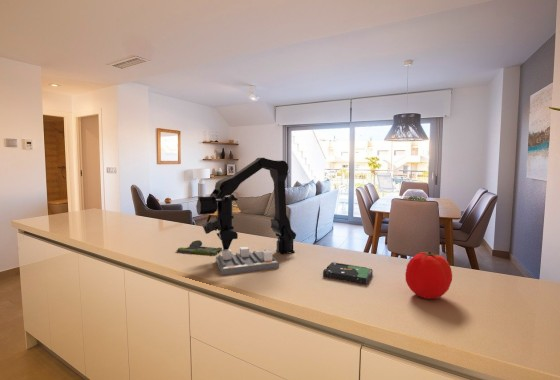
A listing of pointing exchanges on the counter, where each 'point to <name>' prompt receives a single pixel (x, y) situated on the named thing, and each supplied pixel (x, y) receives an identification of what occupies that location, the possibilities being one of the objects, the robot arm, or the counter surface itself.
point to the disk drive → (348, 273)
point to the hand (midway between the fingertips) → (225, 252)
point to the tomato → (428, 275)
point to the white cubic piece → (267, 255)
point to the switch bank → (245, 263)
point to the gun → (199, 249)
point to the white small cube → (244, 251)
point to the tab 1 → (226, 254)
